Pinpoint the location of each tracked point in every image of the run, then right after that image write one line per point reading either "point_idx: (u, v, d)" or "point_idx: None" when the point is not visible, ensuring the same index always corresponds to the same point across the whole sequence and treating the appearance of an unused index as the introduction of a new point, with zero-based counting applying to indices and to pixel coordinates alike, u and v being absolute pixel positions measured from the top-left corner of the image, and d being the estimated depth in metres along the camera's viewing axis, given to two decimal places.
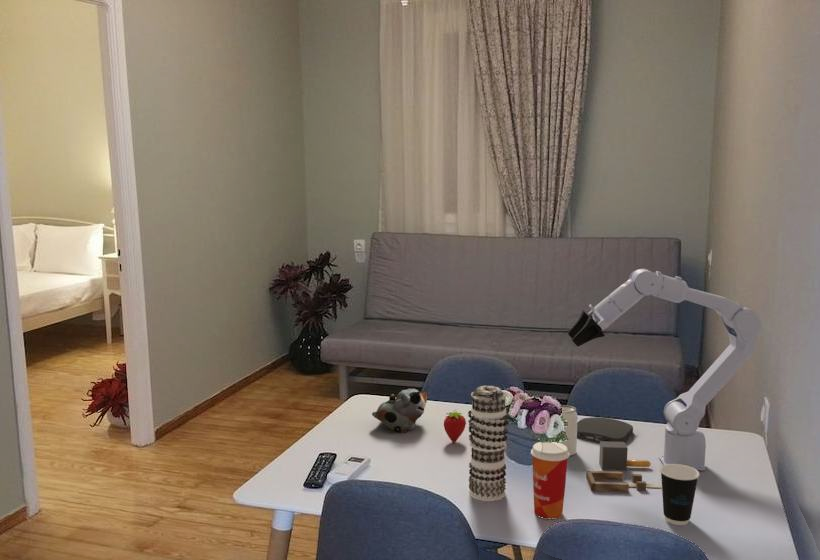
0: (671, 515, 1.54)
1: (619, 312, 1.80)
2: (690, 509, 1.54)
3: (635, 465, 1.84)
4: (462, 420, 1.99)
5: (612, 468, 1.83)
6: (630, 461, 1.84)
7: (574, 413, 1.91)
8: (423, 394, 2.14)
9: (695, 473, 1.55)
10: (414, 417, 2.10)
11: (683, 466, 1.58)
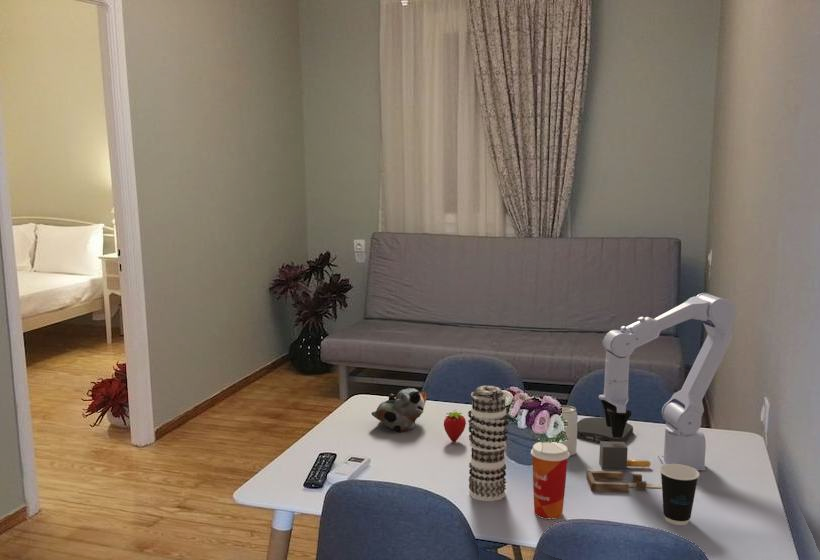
0: (671, 515, 1.54)
1: (624, 383, 1.79)
2: (690, 509, 1.54)
3: (635, 465, 1.84)
4: (462, 420, 1.99)
5: (612, 468, 1.83)
6: (630, 461, 1.84)
7: (574, 413, 1.91)
8: (422, 394, 2.15)
9: (695, 473, 1.55)
10: (414, 416, 2.11)
11: (683, 466, 1.58)
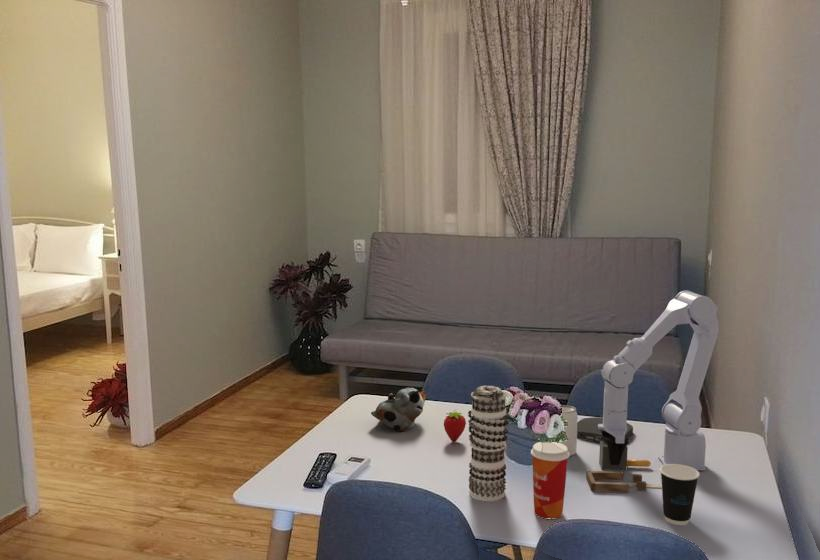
0: (671, 515, 1.54)
1: (623, 413, 1.80)
2: (690, 509, 1.54)
3: (635, 465, 1.84)
4: (462, 420, 1.99)
5: (612, 468, 1.83)
6: (630, 461, 1.84)
7: (574, 413, 1.91)
8: (422, 393, 2.15)
9: (695, 473, 1.55)
10: (413, 416, 2.11)
11: (683, 466, 1.58)
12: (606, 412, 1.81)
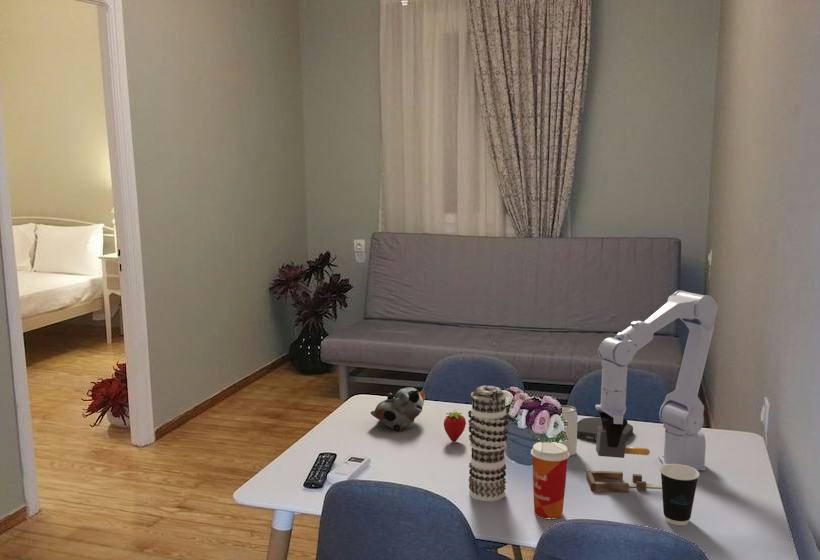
0: (671, 515, 1.54)
1: (621, 393, 1.72)
2: (690, 509, 1.54)
3: (633, 452, 1.75)
4: (462, 420, 1.99)
5: (609, 454, 1.75)
6: (628, 448, 1.76)
7: (574, 413, 1.91)
8: (421, 393, 2.16)
9: (695, 473, 1.55)
10: (413, 415, 2.11)
11: (683, 466, 1.58)
12: (604, 392, 1.73)
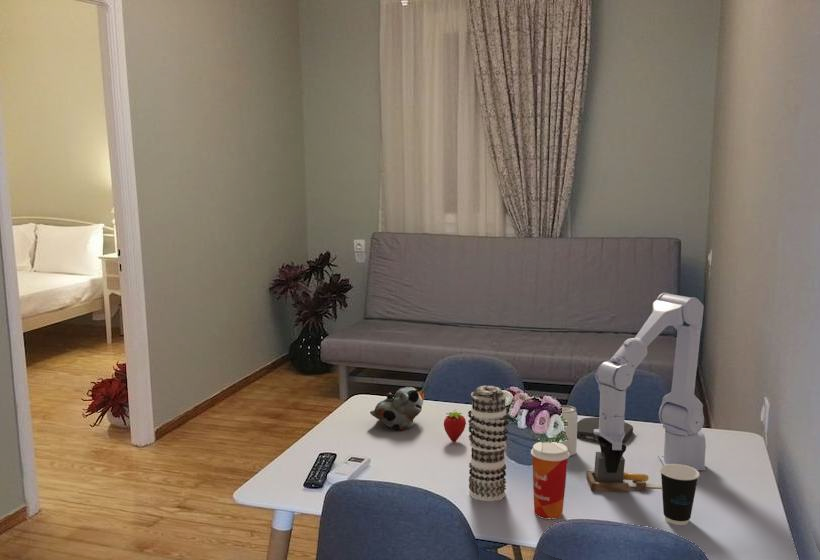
0: (671, 515, 1.54)
1: (620, 418, 1.69)
2: (690, 509, 1.54)
3: (632, 479, 1.73)
4: (462, 420, 1.99)
5: (607, 481, 1.72)
6: (627, 474, 1.73)
7: (574, 413, 1.91)
8: (420, 392, 2.16)
9: (695, 473, 1.55)
10: (412, 415, 2.12)
11: (683, 466, 1.58)
12: (602, 416, 1.70)
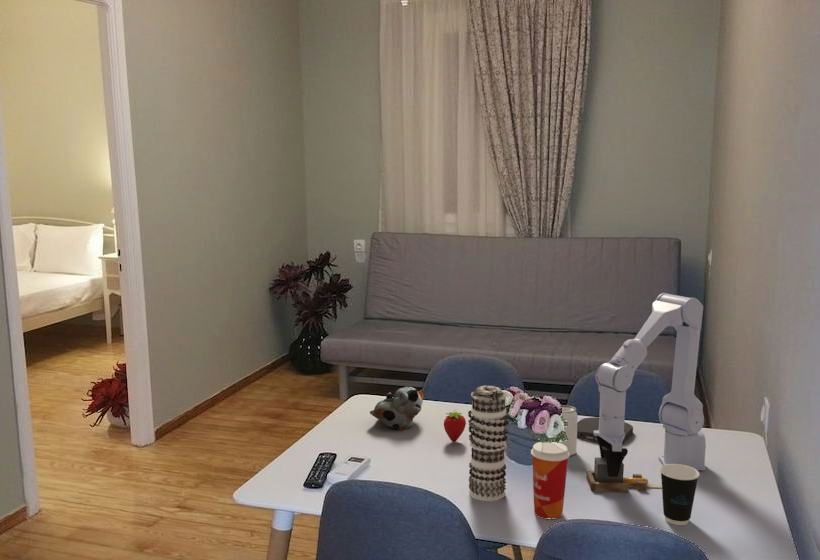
0: (671, 515, 1.54)
1: (620, 419, 1.69)
2: (690, 509, 1.54)
3: (632, 483, 1.73)
4: (462, 420, 1.99)
5: None
6: (626, 479, 1.73)
7: (574, 413, 1.91)
8: (420, 392, 2.16)
9: (695, 473, 1.55)
10: (412, 414, 2.12)
11: (683, 466, 1.58)
12: (602, 418, 1.70)
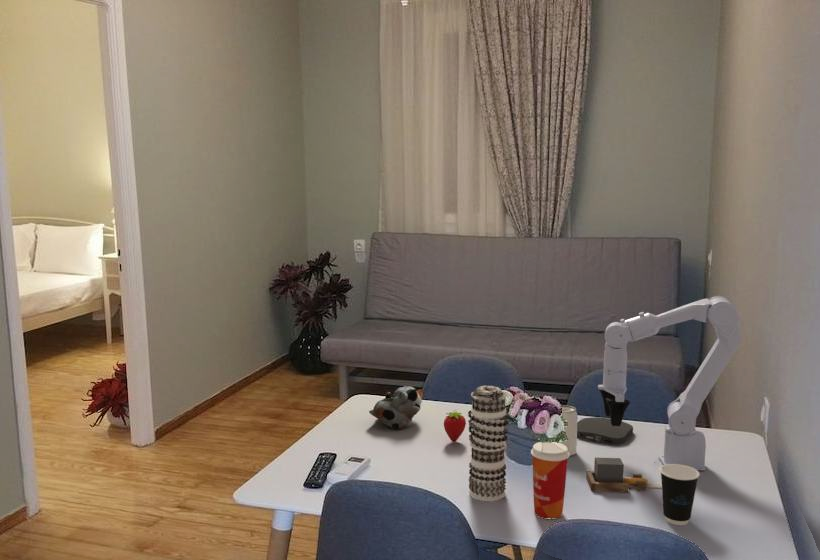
0: (671, 515, 1.54)
1: (622, 373, 1.85)
2: (690, 509, 1.54)
3: (632, 483, 1.73)
4: (462, 420, 1.99)
5: None
6: (626, 479, 1.73)
7: (574, 413, 1.91)
8: (419, 391, 2.17)
9: (695, 473, 1.55)
10: (411, 414, 2.13)
11: (683, 466, 1.58)
12: (606, 372, 1.87)
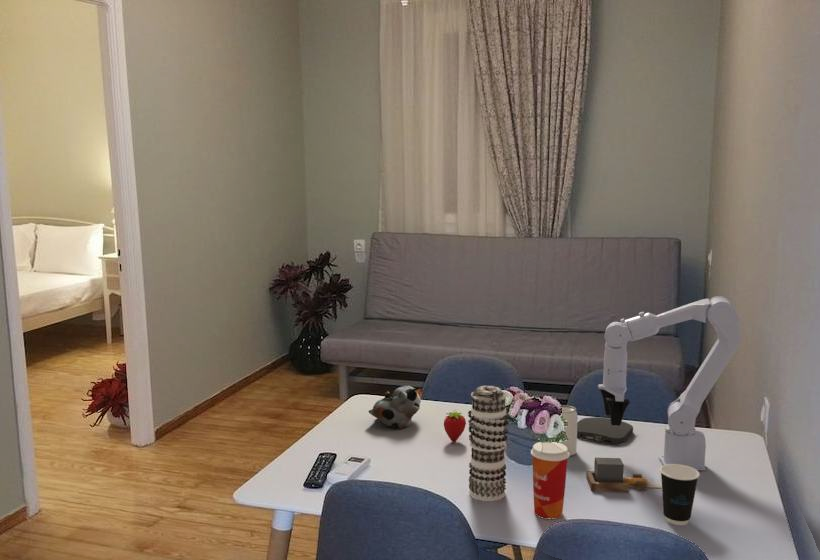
0: (671, 515, 1.54)
1: (622, 373, 1.86)
2: (690, 509, 1.54)
3: (632, 483, 1.73)
4: (462, 420, 1.99)
5: None
6: (626, 479, 1.73)
7: (574, 413, 1.91)
8: (418, 391, 2.18)
9: (695, 473, 1.55)
10: (411, 413, 2.13)
11: (683, 466, 1.58)
12: (606, 372, 1.87)
